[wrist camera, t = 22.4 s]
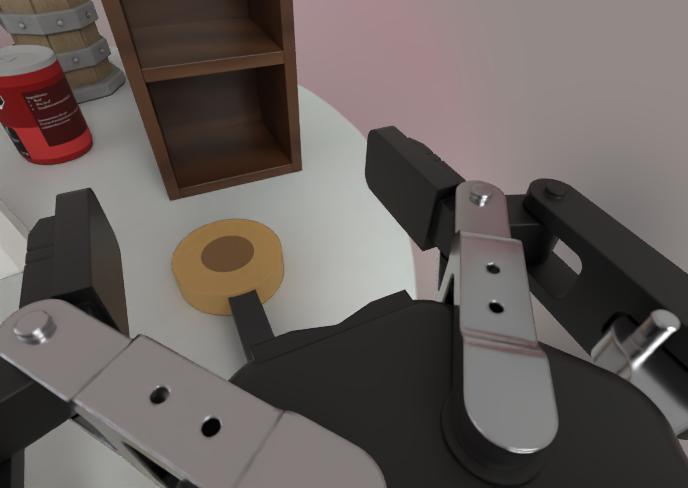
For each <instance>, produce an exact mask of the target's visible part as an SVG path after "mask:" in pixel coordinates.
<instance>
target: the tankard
mask: <svg viewBox="0 0 688 488" xmlns="http://www.w3.org/2000/svg"><path fill="white" fill-rule="evenodd" d="M97 19H98V16H97V13H96V10H95V7H94V4H93V2H92V1H90V0H0V25H1V26H2V27H3V28H4V29H5V30H6V31H7V32H8V33H9V34H11V36H12V38H13V40H14V42H15V44H13V45H12V46H15V45H38V46H44V47H48V48H50V49H52V50H53V51H54V54H55V55H56V56H57V59H58V61H59V63H60V65H61V67H62V69H63V72H64V74H65V76H66V78H67V81H68V83H69V85H70V87H71V90H72V92H73V94H74V96H75V99H76V101H77V103H82V102H86V101H90V100H93V99H97V98H101V97H105V96H109V95H111V94H112V93H113V92H114V91H115V90H116V89H117V88H118V87H119V86H121V85H122V84H123V83H124V82H125V80H126V79H125V77H124V74H123V72H122V71H121V70H120V69H118V68H117V67H116V66H114V65H113V64H112V63H110V62H109V60H108V56H109V55H110V54H111V52H110V49H109V46H108V43H107V41H106V39H105V38H104V37H102V36H101V35H99V32H98V30H97V27H96V24H95V20H97Z"/></svg>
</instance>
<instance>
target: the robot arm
mask: <svg viewBox="0 0 688 488" xmlns="http://www.w3.org/2000/svg"><path fill="white" fill-rule="evenodd" d="M365 178H366V182H367V185H368V187H369V189H370V190H371V191H372V192H373V194H374V195H375V196H376V197H377V198H378V199H379V201H380V202H381V203H382V204H383V205H384V207H385V208H386V209H387V210H388V211H389V212H390V214H391V215H392V216H393V217H394V218H395V219H396V221H397V222H398V223H399V224H400V225H401V227H402V228H403V229H404V230H405V231H406V232H407V234H408V235H409V236H410V237H411V238H412V239H413V241H414V242H415V243H416V244H417V245H418V246H419V248H420V249H421V250H422V251H425V250H428V249H431V248H434V247H437V248H438V249H439V253H438V258H437V271H436V272H437V273H436V287H435V301H433V300H412V298H411V297H410V296H409V294H408V293H407V292H406V290H402V291H400V292H397V293H394V294H391V295H389V296H386V297H383V298H381V299H378V300H375V301H372V302H370V303H369V304H367V305H366V306H364V307H363V308H361V309H360V310H358V311H357V312H356V313H354V314H353V315H351V316H350V317H348V318H347V319H345V320H344V321H342V322H341V323H339V324H337V325H333V326H325V327H318V328H310V329H303V330H295V331H290V332H288V333H285V334H282V335H280V336H277V337H274V338H271V339H269V340H266V341H263V342H260V343H258V344H255V345H252V346H250V349H251V353H252V357H253V359H252V360H251V361H250V362H248V363H247V364H245V365H244V366H243V367H242V368H240V369H239V370H238V371H237V372H236V373H235V374H234V375H233V376H232V377H231V378H230V379H229V380H228V381H226V380H225V379H223V378H221V377H219V376H218V375H216V374H214V373H212V372H210V371H209V370H207V369H205V368H203V367H202V366H200V365H198V364H196V363H194V362H193V361H191V360H189V359H187V358H186V357H184V356H182V355H180V354H178V353H177V352H175V351H173V350H171V349H170V348H168V347H166V346H164V345H162V344H161V343H159V342H157V341H155V340H153V339H152V338H150V337H148V336H145V335H142V334H139V335H137V336H136V337H135V338H134V339H132V338H130V336H129V327H128V317H127V308H126V299H125V289H124V280H123V271H122V262H121V253H120V249H119V245H118V242H117V239H116V236H115V234H114V232H113V230H112V228H111V226H110V224H109V222H108V220H107V217H106V215H105V213H104V211H103V209H102V207H101V205H100V203H99V201H98V199H97V197H96V195H95V193H94V192H93V190H92V189H91V188H86V189H81V190H76V191H72V192H67V193H62V194H58V195H57V196H56V208H55V216H51V217H47V218H42V219H39V221H38V222H37V223H36V225H35V226H34V227H33V229H32V230H31V231H30V233H29V234H28V240H27V248H26V250H27V253H26V257H25V264H26V265H24V273H23V281H22V289H21V297H20V305H19V310H17V311H16V312H14V313H13V314H12V315H10V316H9V317H8V318H7V319H6V320H5V321H4V322H3V323H2V324H1V325H0V488H24V452H25V448H26V447H27V446H29V445H30V444H32V443H33V442H35V441H36V440H38V439H39V438H41V437H42V436H44V435H45V434H47V433H48V432H50V431H51V430H53V429H54V428H56V427H57V426H59V425H60V424H62V423H63V422H65V421H66V420H68V419H69V420H70V421H71V422H73V423H74V424H76V425H77V426H79V427H80V428H81V429H83V430H84V431H86V432H87V433H88V434H90V435H91V436H93V437H94V438H95V439H97V440H98V441H100V442H101V443H102V444H104V445H105V446H107V447H108V448H110V449H111V450H112V451H114V452H115V453H117V454H118V455H119V456H121V457H122V458H124V459H125V460H126V461H127V462H129V463H130V464H131V465H132V466H134V467H135V468H136V469H137V470H138V471H140V472H141V473H142V474H143V475H145V476H146V477H147V478H148V479H150V480H151V481H152V482H154V483H155V484H157V485H158V486H159V487H161V488H688V458H687V456H686V454H685V453H684V451H683V449H682V447H681V445H680V443H679V440H678V439H683V440H688V274H687V273H686V272H684V271H683V270H682V269H680V268H679V267H678V266H676V265H675V264H674V263H672V262H671V261H670V260H668V259H667V258H666V257H664V256H663V255H662V254H660V253H659V252H658V251H656V250H655V249H654V248H652V247H651V246H650V245H648V244H647V243H646V242H644V241H643V240H642V239H640V238H639V237H638V236H636V235H635V234H634V233H632V232H631V231H630V230H628V229H627V228H626V227H624V226H623V225H622V224H620V223H619V222H618V221H616V220H615V219H614V218H612V217H611V216H610V215H608V214H607V213H606V212H604V211H603V210H601V208H599V207H598V206H597V205H595V204H594V203H593V202H591V201H590V200H589V199H587V198H586V197H584V196H583V195H582V194H581V193H579V192H578V191H577V190H575V189H574V188H573V187H571V186H570V185H568V184H565V183H563V182H561V181H557V180H554V179H537V180H535V181H533V182H532V183H531V184H530V186H529V188H528V190H527V193H526V194H523V195H504V193H503V192H502V191H501V190H500V189H499V188H497V187H496V186H494V185H492V184H489V183H486V182H483V181H466V180H465V179H464V178H462V177H461V176H460V175H459V174H458V173H457V172H455V171H454V170H453V169H452V168H451V167H450V166H448V165H447V164H446V163H445V162H444V161H441V159H440V158H439V157H438V156H437V155H436V154H433V152H432V151H431V150H430V149H429V148H428V147H426V146H425V145H424V144H423V143H420V142H418V141H416V140H414V139H411V138H407V137H406V136H405V135H404V134H403V133H402V132H400V131H399V130H398V129H397V128H396V127H394V126H388V127H383V128H379V129H374V130H371V131H370V132H369V134H368V140H367V152H366V165H365ZM559 239H561V240H562V241H563V242H564V243H565V244H566V245H567V246H568V247H570V248H571V249H572V250H573V251H574V252H575V253H576V254H577V255H578V256H579V258H580V259H581V262H582V270H581V273H580V274H579V275H578V274H577V273H575V272H574V271H573V270H572V269H571V268H570V267H569V266H568V265H567V264H566V263H565V262H564V261H563V260H562V259H560V258H559V257H558V256H557V255H556V254H555V253H554V252H553V249H554V247H555V245H556V243H557V242H558V240H559ZM530 292H531V293H532V294H533V295H534V296H535V297H536V298H537V299H538V300H539V301H540V303H541V304H542V305H544V307H545V308H546V309H547V310H548V311H549V312H550V313H551V314H552V315H553V317H554V318H555V319H556V320H557V321H558V322H559V323H560V324H561V325H562V326H563V327H564V328H565V330H567V332H568V333H569V334H570V335H571V336H572V337H573V338H574V339H575V340H576V341H577V343H578V344H580V346H581V347H582V348H583V349H584V350H585V351H586V352H587V353H588V354H589V355H590V357H591V359H592V362H593V364H592V363H590V362H587V361H585V360H582V359H580V358H578V357H575V356H573V355H571V354H568V353H566V352H563V351H561V350H559V349H556V348H554V347H551V346H549V345H547V344H544V343H542V342H539V341H538V340H537V334H536V327H535V321H534V315H533V308H532V302H531V297H530Z"/></svg>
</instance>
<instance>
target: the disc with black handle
mask: <svg viewBox="0 0 688 488" xmlns="http://www.w3.org/2000/svg"><path fill="white" fill-rule="evenodd" d="M172 270H173V273H174V276H175V278H176V281H177V283H178V286H179V289H180V291H181V294H182V295H183V297H184V299H185V300H186V301H187V302H188V303H189V304H190V305H191V306H193V307H194V308H196V309H198V310H200V311H202V312H205V313H209V314H215V315H233V318H234V321H235V324H236V327H237V330H238V333H239V337H240V340H241V343H242V346H243V349H244V352H245V355H246V358H247V361H248V362H250V361H251V360H252V359H253V357H252V353H251V349H250V346H252V345H255V344H258V343H260V342H263V341H266V340H269V339H271V338H274V334H273V332H272V329H271V327H270V324H269V322H268V319H267V317H266V314H265V312H264V309H263V307H262V303H264V302H265V301H267V300H268V299H269V298H270V297H271V296H272V295H273V294H274V293H275V292H276V290H277V289H278V288H279V286H280V284H281V282H282V279H283V275H284V264H283V255H282V247H281V243H280V240H279V238H278V237H277V235H276V234H275V233H274V232H273V231H272V230H271V229H270V228H268V227H267V226H265V225H263V224H261V223H258V222H255V221H251V220H245V219H228V220H221V221H217V222H213V223H210V224H207V225H205V226H203V227H200V228H198V229H197V230H195V231H193V232H192V233H191V234H189V235H188V236H187V237H186V238H184V239H183V240H182V242H181V243H180V244H179V245H178V247H177V248H176V250H175V252H174V255H173V258H172Z"/></svg>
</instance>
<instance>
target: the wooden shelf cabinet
mask: <svg viewBox="0 0 688 488" xmlns="http://www.w3.org/2000/svg"><path fill="white" fill-rule="evenodd" d="M101 1H102V4H103V7H104V10H105V13H106V16H107V18H108V21H109V24H110V27H111V30H112V33H113V36H114V39H115V42H116V45H117V48H118V51H119V54H120V56H121V59H122V62H123V65H124V68H125V71H126V74H127V77H128V80H129V83H130V86H131V88H132V91H133V94H134V97H135V100H136V103H137V106H138V109H139V112H140V115H141V118H142V120H143V123H144V126H145V129H146V132H147V135H148V138H149V141H150V144H151V147H152V150H153V152H154V155H155V158H156V161H157V164H158V167H159V170H160V173H161V176H162V179H163V182H164V185H165V187H166V190H167V193H168V196H169V199H170V201H171V200H175V199H180V198H181V197H182V198H184V197H188V196H192V195H197V194H201V193H205V192H210V191H214V190H218V189H223V188H227V187H231V186H236V185H240V184H244V183H249V182H253V181H257V180H262V179H266V178H270V177H275V176H279V175H283V174H288V173H292V172H297V171H301V170H302V160H301V142H300V124H299V106H298V88H297V72H296V71H297V70H296V52H295V35H294V16H293V0H101Z"/></svg>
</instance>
